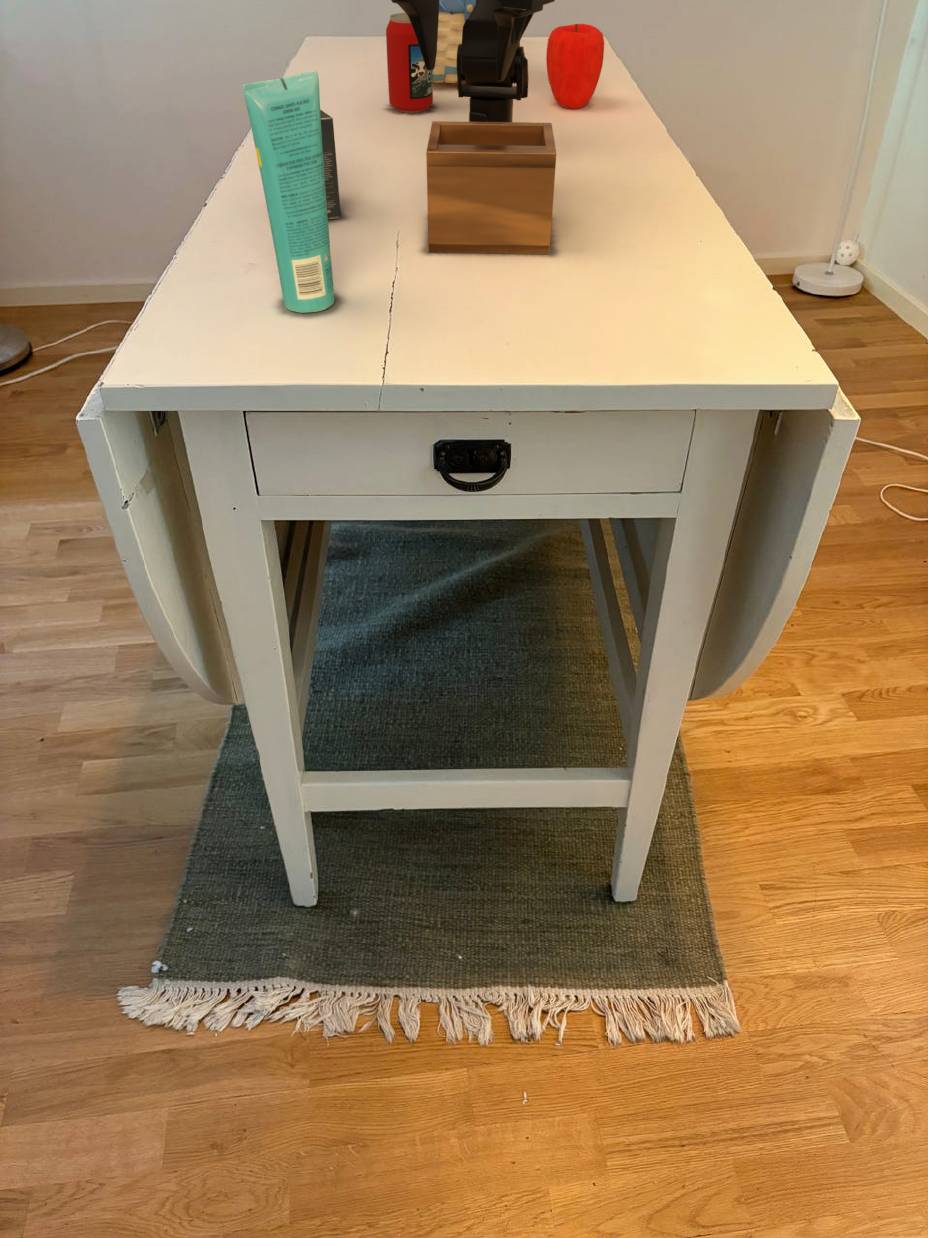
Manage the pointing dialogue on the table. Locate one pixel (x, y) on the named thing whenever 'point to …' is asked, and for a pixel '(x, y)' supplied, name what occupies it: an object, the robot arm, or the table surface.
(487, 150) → the wooden cube
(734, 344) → the table surface
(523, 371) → the table surface
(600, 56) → the apple
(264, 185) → the tube
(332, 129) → the box
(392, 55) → the beverage can
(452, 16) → the basket
